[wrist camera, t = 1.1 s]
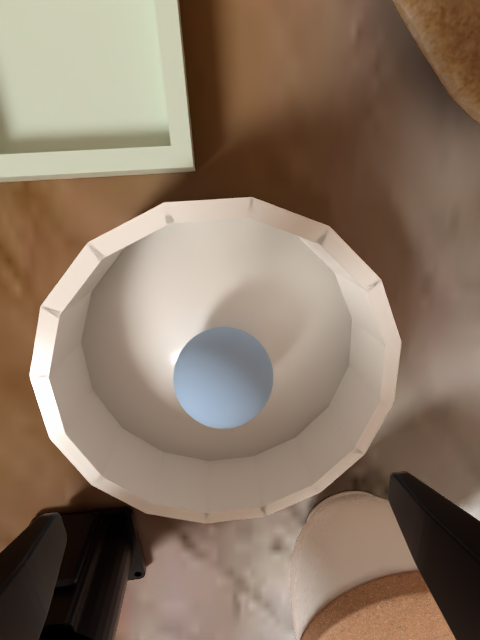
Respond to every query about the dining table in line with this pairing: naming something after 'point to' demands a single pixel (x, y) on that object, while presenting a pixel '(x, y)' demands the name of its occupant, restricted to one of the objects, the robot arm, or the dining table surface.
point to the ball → (223, 377)
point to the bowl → (190, 320)
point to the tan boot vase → (449, 44)
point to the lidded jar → (359, 576)
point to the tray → (92, 89)
